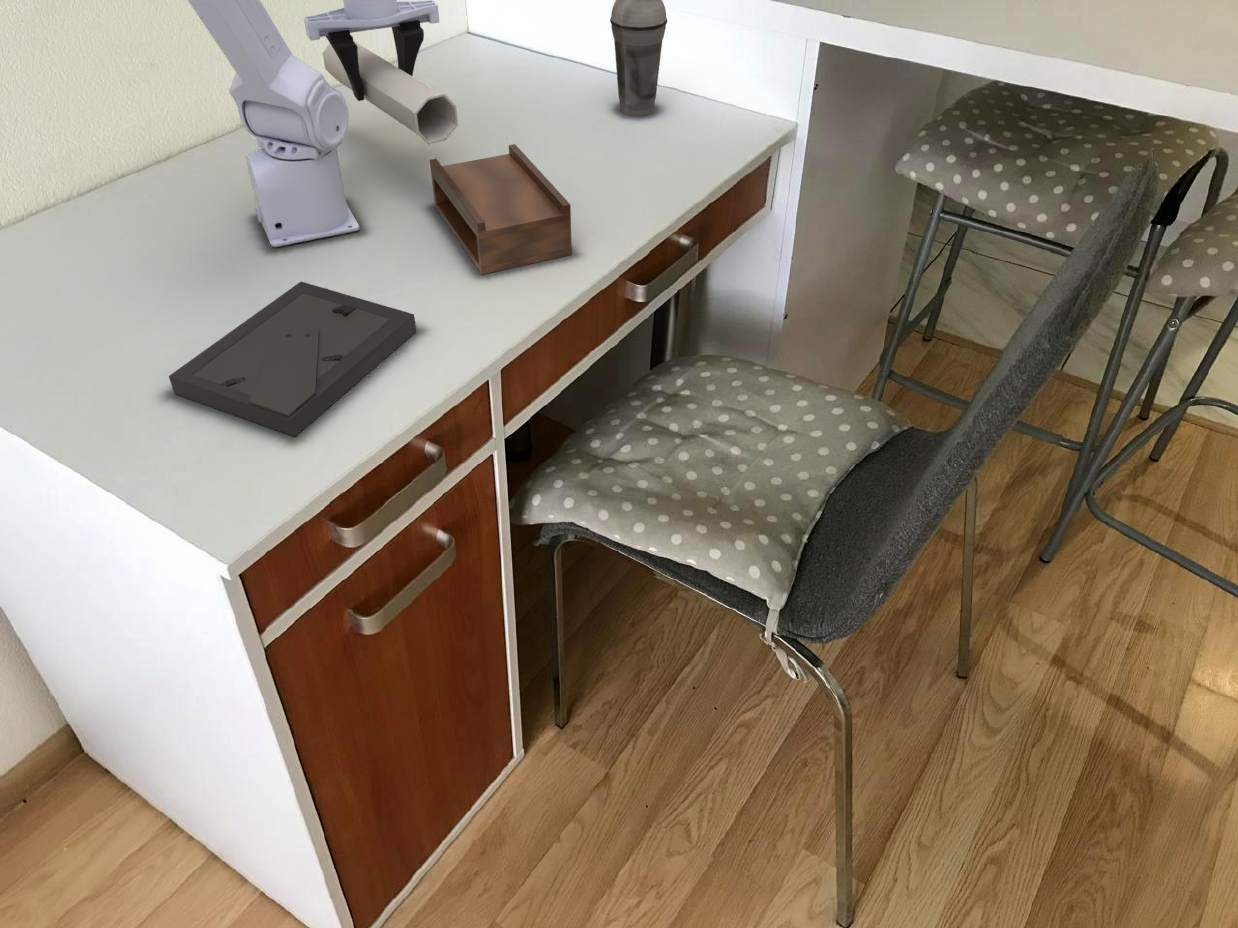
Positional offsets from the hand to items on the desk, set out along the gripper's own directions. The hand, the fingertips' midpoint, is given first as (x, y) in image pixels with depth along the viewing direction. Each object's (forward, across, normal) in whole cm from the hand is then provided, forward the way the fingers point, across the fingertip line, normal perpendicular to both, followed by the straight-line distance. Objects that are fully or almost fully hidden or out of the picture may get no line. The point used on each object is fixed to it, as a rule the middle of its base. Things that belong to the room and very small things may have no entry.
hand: (383, 94), depth 121 cm
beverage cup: (+9, -34, -3) cm, 36 cm away
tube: (+2, 0, 0) cm, 2 cm away
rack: (+9, -6, +20) cm, 23 cm away
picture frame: (+9, +19, +36) cm, 42 cm away
